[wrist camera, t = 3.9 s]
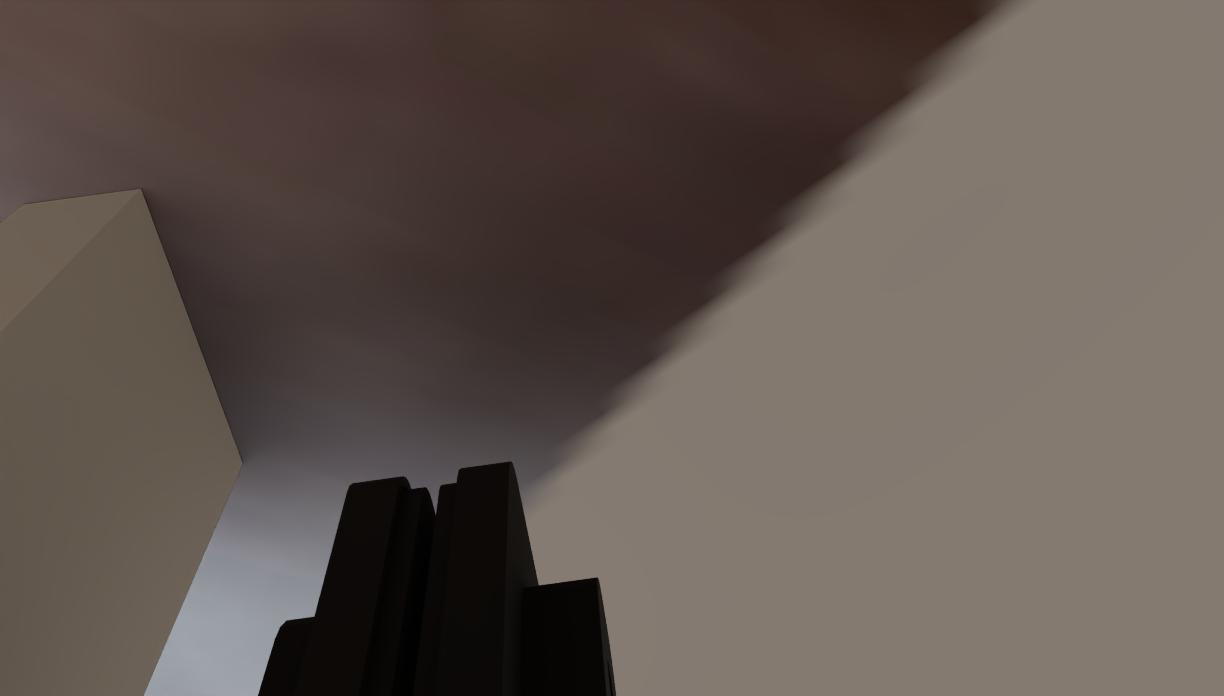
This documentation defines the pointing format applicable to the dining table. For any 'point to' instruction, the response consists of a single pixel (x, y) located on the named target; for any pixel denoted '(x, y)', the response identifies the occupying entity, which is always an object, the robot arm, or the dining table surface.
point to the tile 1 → (99, 448)
